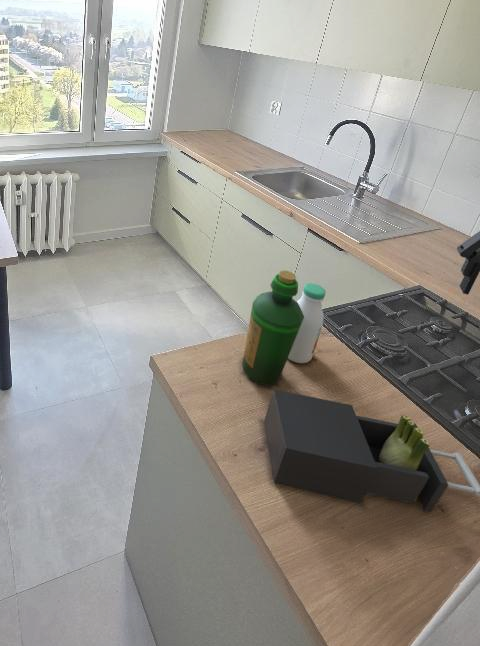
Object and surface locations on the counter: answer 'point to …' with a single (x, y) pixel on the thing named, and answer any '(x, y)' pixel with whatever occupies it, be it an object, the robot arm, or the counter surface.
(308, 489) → the cabinet
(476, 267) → the robot arm
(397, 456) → the fennel bulb
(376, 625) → the counter surface
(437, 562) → the counter surface
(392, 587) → the counter surface
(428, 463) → the drawer
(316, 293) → the milk bottle
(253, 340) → the bottle
